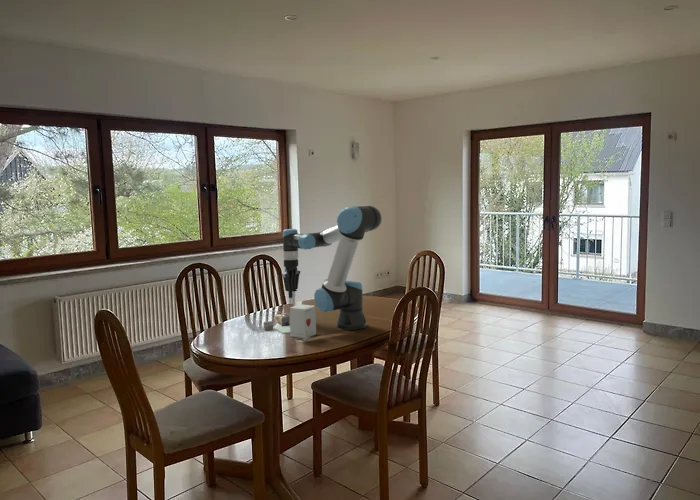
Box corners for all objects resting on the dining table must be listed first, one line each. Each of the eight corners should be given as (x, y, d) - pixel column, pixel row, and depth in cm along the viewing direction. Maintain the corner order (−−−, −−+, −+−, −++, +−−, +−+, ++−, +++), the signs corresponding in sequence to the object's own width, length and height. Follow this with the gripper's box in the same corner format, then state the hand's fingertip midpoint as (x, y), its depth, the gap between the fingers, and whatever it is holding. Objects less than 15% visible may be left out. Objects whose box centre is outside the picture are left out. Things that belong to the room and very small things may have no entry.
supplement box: (305, 341, 247) (304, 309, 246) (290, 339, 252) (288, 307, 251) (317, 336, 255) (316, 305, 253) (301, 334, 260) (300, 303, 258)
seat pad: (303, 330, 262) (303, 329, 262) (282, 334, 256) (282, 332, 256) (294, 326, 271) (294, 324, 271) (274, 329, 266) (274, 327, 266)
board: (307, 333, 262) (306, 322, 262) (263, 340, 252) (263, 329, 251) (285, 321, 286) (284, 312, 286) (244, 327, 276) (244, 317, 275)
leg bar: (290, 325, 272) (289, 317, 271) (283, 326, 270) (283, 318, 270) (280, 320, 284) (279, 312, 283) (273, 321, 282) (273, 313, 282)
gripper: (292, 257, 288) (293, 300, 290) (277, 260, 277) (278, 305, 279) (304, 257, 284) (305, 302, 287) (288, 260, 273) (290, 306, 276)
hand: (292, 303), depth 283 cm, fingers closed
